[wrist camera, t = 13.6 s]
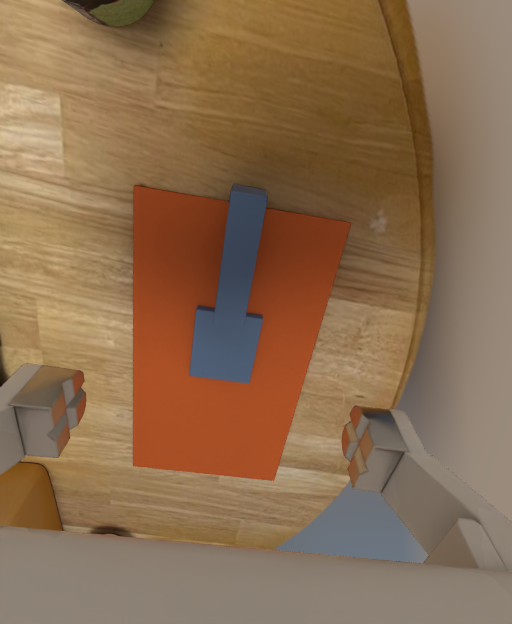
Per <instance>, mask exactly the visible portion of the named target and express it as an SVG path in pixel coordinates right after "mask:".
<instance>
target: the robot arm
mask: <svg viewBox="0 0 512 624" xmlns="http://www.w3.org/2000/svg"><path fill="white" fill-rule="evenodd" d="M83 383H84V374H83V372H82V371H80V370H74V369H67V368H60V367H54V366H47V365H45V366H44V365H38V364H31V363H26V364H24V365H22V366H21V367H20V368H19V369H18V370H17V371H16V372H15V373H14V374H13V375H12V376H11V377H10V378H9V379H8V380H7V381H6V382H5V383H4V384H3V385H2V386H1V387H0V475H1V474H2V473H4V472H5V471H7V470H8V469H9V468H11V467H12V466H14V465H15V464H16V463H18V462H19V461H21V460H22V459H23V458H25V455H27V456H40V457H53V458H59V456H60V454H61V452H62V451H63V449H64V447H65V446H66V444H67V442H68V441H69V439H70V433H69V430H71V429H72V428H74V427H76V426H77V425H78V424H79V422H80V420H81V418H82V416H83V413H84V410H85V407H86V393H85V392H84V391H83V389H82V388H81V386H82V384H83ZM350 417H351V420H352V421H350V422H349V423H347V424H346V425H345V427H344V430H343V433H342V449H343V453H344V456H345V457H346V458H347V459H348V460H349V461H350V465H349V467H348V472H349V476H350V480H351V483H352V487H353V489H354V490H361V491H368V492H376V493H381V496H382V497H383V498H384V499H385V501H386V502H387V503H388V504H389V505H390V507H391V508H392V509H393V510H394V512H395V513H396V514H397V516H398V517H399V518H400V519H401V521H402V522H403V523H404V525H405V526H406V527H407V528H408V530H409V531H410V532H411V533H412V535H413V536H414V537H415V538H416V540H417V541H418V542H419V543H420V545H421V546H422V547H423V549H424V550H425V551H426V552H427V554H428V555H429V556H428V558H427V559H426V560H425V561H424V563H412V562H401V561H389V560H377V559H367V558H356V557H344V556H334V555H322V554H312V553H300V552H289V551H277V550H267V549H256V548H245V547H233V546H222V545H211V544H200V543H189V542H178V541H167V540H156V539H145V538H134V537H123V536H111V535H100V534H89V533H78V532H67V531H56V530H45V529H34V528H23V527H12V526H1V525H0V624H512V521H510V520H509V519H508V518H507V517H506V516H504V515H503V514H502V513H501V512H500V511H499V510H497V509H496V508H495V507H494V506H493V505H491V504H490V503H489V502H488V501H487V500H485V499H484V498H483V497H482V496H481V495H479V494H478V493H477V492H476V491H474V490H473V489H472V488H471V487H470V486H468V485H467V484H466V483H465V482H464V481H462V480H461V479H460V478H459V477H458V476H457V475H455V474H454V473H453V472H452V471H450V470H449V469H448V468H447V467H446V466H445V465H443V464H442V463H441V462H439V461H438V460H437V459H436V458H435V457H433V456H432V455H427V453H426V451H425V449H424V447H423V445H422V443H421V441H420V439H419V438H418V435H417V434H416V432H415V430H414V428H413V426H412V424H411V422H410V420H409V418H408V417H407V415H406V413H405V412H403V411H401V410H392V409H382V408H373V407H365V406H356V405H355V406H354V407H353V408H352V410H351V413H350Z"/></svg>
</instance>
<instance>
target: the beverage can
mask: <svg viewBox="0 0 512 624" xmlns="http://www.w3.org/2000/svg"><path fill="white" fill-rule="evenodd" d="M62 1H64V2H65V3H67V4H68V5H70V6H71V7H72V8H74V9H75V10H77V11H78V12H80V13H81V14H82V15H84V16H85V17H87V18H88V19H90V20H92V21H94V22H96V23H99V24H102V25H106V26H114V27H119V26H126V25H129V24H131V23H134V22H136V21H137V20H139V19H140V18H142V17H143V16H144V15H145V14H146V12H147V11H148V10H149V9H150V7H151V6H152V4H153V2H154V1H155V0H62Z"/></svg>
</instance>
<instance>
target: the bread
mask: <svg viewBox="0 0 512 624" xmlns="http://www.w3.org/2000/svg"><path fill="white" fill-rule="evenodd" d="M0 525H1V526H12V527H23V528H34V529H45V530H56V531H63V529H62V525H61V522H60V518H59V514H58V510H57V506H56V502H55V498H54V494H53V490H52V486H51V482H50V479H49V476H48V474H47V471H46V470H45V468H44V467H43V466H41V465H39V464H33V463H21V462H18V463H16V464H15V465H14V466H12V467H11V468H9V469H8V470H7V471H5V472H4V473H2V474H1V475H0Z"/></svg>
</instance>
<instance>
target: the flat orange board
mask: <svg viewBox="0 0 512 624" xmlns="http://www.w3.org/2000/svg"><path fill="white" fill-rule="evenodd" d="M228 208H229V201H223V200H218V199H212V198H206V197H200V196H195V195H189V194H183V193H177V192H172V191H166V190H160V189H154V188H149V187H143V186H137V185H135V186H134V270H133V466H138V467H148V468H157V469H167V470H176V471H186V472H195V473H205V474H214V475H224V476H233V477H243V478H252V479H262V480H271V481H274V479H275V475H276V472H277V469H278V465H279V462H280V459H281V455H282V452H283V449H284V445H285V442H286V439H287V435H288V432H289V429H290V425H291V422H292V419H293V415H294V412H295V409H296V405H297V402H298V399H299V395H300V392H301V389H302V385H303V382H304V379H305V375H306V372H307V369H308V365H309V362H310V359H311V355H312V352H313V349H314V346H315V342H316V339H317V336H318V332H319V329H320V326H321V322H322V319H323V316H324V312H325V309H326V306H327V302H328V299H329V296H330V292H331V289H332V286H333V282H334V279H335V276H336V272H337V269H338V266H339V262H340V259H341V256H342V252H343V249H344V246H345V242H346V239H347V236H348V232H349V229H350V226H351V223H350V222H344V221H338V220H332V219H327V218H321V217H315V216H309V215H304V214H298V213H292V212H286V211H281V210H275V209H269V208H266V210H265V215H264V221H263V226H262V232H261V237H260V242H259V248H258V253H257V259H256V264H255V269H254V275H253V280H252V286H251V291H250V297H249V302H248V307H247V313H252V314H259V315H263V322H262V327H261V332H260V336H259V341H258V346H257V350H256V355H255V360H254V364H253V369H252V374H251V379H250V383H249V384H247V383H240V382H232V381H225V380H217V379H210V378H202V377H194V376H189V371H190V361H191V352H192V342H193V333H194V323H195V314H196V308H197V306H198V305H199V306H206V307H212V308H215V305H216V297H217V290H218V282H219V275H220V267H221V260H222V252H223V245H224V237H225V230H226V223H227V215H228Z"/></svg>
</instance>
